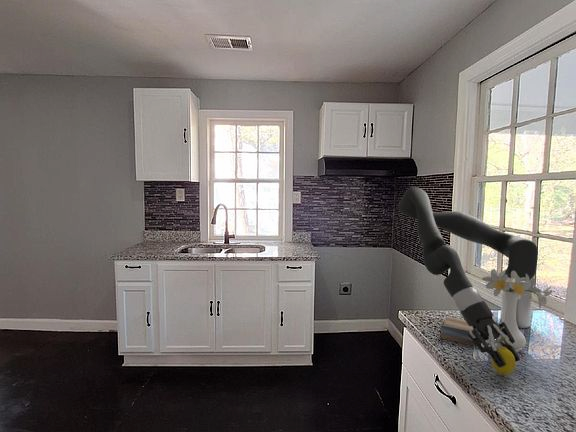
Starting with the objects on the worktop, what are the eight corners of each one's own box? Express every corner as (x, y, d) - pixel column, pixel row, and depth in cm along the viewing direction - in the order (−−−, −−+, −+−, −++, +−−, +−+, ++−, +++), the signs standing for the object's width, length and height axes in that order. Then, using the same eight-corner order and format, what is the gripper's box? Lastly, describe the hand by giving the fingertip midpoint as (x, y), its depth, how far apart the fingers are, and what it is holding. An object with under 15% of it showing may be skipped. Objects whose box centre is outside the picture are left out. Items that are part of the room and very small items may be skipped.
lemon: (515, 383, 87) (517, 354, 87) (491, 377, 90) (492, 349, 89) (513, 373, 92) (515, 345, 91) (490, 367, 95) (491, 340, 94)
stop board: (445, 320, 129) (446, 309, 128) (481, 327, 123) (482, 315, 122) (440, 338, 113) (441, 325, 113) (481, 346, 107) (482, 333, 107)
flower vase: (544, 367, 95) (550, 282, 93) (473, 346, 108) (477, 270, 106) (548, 351, 105) (555, 274, 103) (483, 333, 117) (487, 264, 115)
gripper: (478, 308, 104) (515, 363, 95) (446, 315, 98) (482, 374, 89) (496, 297, 99) (537, 353, 89) (463, 303, 93) (503, 364, 83)
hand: (509, 363), depth 89 cm, fingers closed on lemon, 5 cm apart
